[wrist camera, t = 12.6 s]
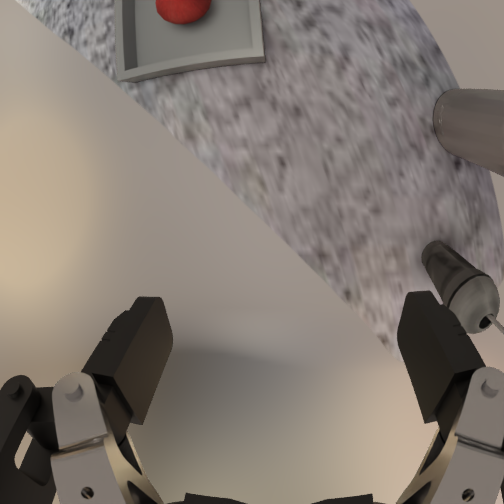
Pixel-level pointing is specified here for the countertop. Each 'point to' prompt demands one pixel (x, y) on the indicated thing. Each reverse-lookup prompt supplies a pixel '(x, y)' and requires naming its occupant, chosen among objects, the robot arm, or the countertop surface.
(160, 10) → the onion
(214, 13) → the tray
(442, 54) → the countertop surface
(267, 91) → the countertop surface
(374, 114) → the countertop surface
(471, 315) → the beverage cup
